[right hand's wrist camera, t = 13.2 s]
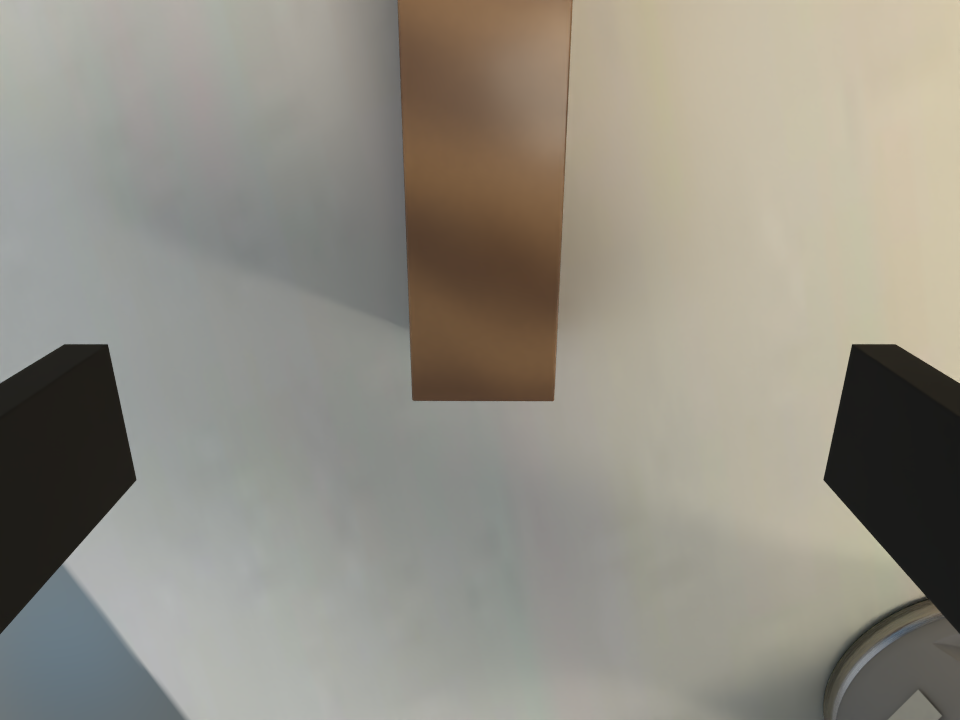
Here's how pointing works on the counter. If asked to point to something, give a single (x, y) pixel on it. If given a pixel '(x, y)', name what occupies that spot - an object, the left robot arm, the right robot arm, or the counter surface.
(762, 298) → the counter surface
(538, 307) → the post
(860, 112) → the counter surface
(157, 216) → the counter surface
